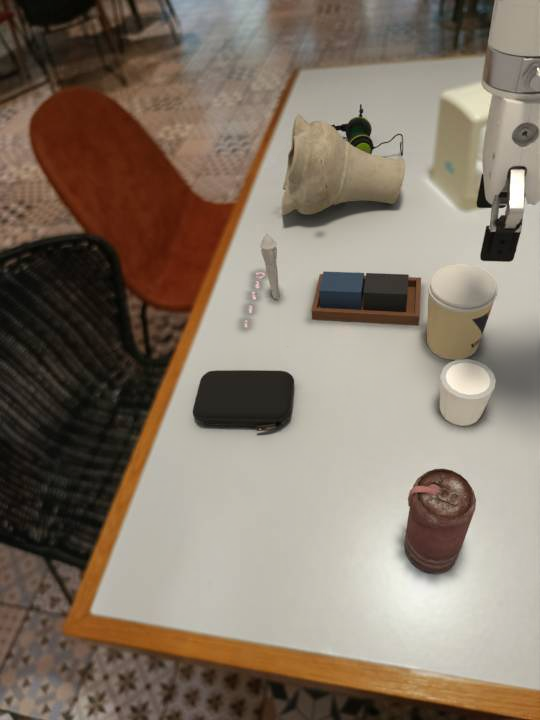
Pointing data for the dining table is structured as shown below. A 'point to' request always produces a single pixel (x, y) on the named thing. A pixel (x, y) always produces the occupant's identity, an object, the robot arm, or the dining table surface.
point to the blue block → (341, 290)
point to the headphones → (361, 133)
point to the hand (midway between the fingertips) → (493, 231)
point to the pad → (385, 292)
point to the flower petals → (254, 294)
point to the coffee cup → (458, 309)
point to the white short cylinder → (465, 391)
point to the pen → (271, 263)
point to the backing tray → (373, 316)
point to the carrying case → (244, 398)
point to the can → (438, 519)
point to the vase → (335, 171)
